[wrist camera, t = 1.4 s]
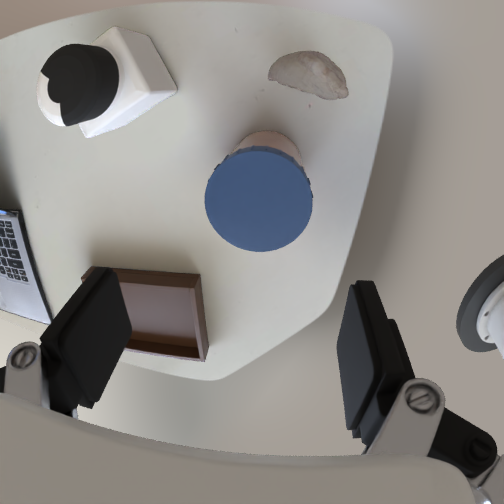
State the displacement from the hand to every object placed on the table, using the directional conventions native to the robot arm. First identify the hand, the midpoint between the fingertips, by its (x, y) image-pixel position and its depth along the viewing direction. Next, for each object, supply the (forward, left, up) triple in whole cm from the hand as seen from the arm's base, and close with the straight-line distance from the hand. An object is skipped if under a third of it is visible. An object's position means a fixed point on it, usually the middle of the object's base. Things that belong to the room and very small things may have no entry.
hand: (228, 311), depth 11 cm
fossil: (-3, -9, -22) cm, 24 cm away
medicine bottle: (+13, -9, -22) cm, 27 cm away
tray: (+15, +19, -21) cm, 32 cm away
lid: (0, 0, -11) cm, 11 cm away
